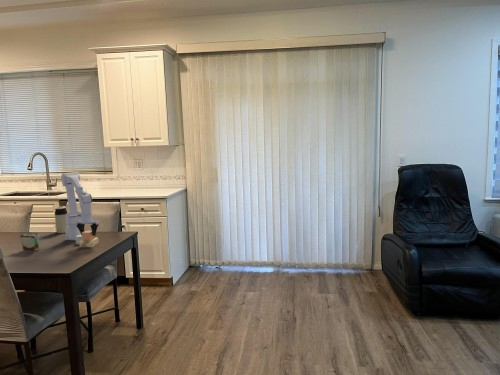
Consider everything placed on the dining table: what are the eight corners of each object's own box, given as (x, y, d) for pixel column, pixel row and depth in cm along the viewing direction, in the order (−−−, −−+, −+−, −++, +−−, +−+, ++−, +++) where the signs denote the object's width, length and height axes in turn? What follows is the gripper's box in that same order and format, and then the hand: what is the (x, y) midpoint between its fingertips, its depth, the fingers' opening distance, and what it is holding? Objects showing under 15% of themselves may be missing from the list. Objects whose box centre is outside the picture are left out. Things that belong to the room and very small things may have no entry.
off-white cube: (76, 244, 229) (75, 236, 228) (79, 242, 234) (78, 234, 233) (84, 244, 229) (83, 236, 229) (87, 241, 234) (86, 234, 234)
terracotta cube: (82, 240, 224) (81, 232, 223) (87, 238, 229) (86, 230, 228) (89, 240, 223) (89, 232, 222) (94, 238, 228) (93, 230, 227)
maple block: (79, 247, 223) (79, 241, 222) (86, 243, 231) (85, 237, 230) (92, 247, 222) (92, 241, 222) (98, 243, 230) (98, 237, 230)
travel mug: (56, 234, 256) (54, 208, 254) (56, 231, 263) (54, 207, 261) (69, 232, 260) (66, 207, 257) (68, 230, 267) (66, 205, 264)
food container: (45, 249, 221) (44, 233, 219) (37, 252, 215) (35, 235, 213) (30, 247, 225) (28, 231, 223) (21, 250, 219) (19, 234, 217)
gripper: (71, 215, 221) (73, 236, 223) (93, 215, 219) (95, 237, 220) (79, 212, 228) (81, 233, 230) (100, 212, 225) (102, 234, 227)
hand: (88, 235), depth 226 cm, fingers open, 7 cm apart
